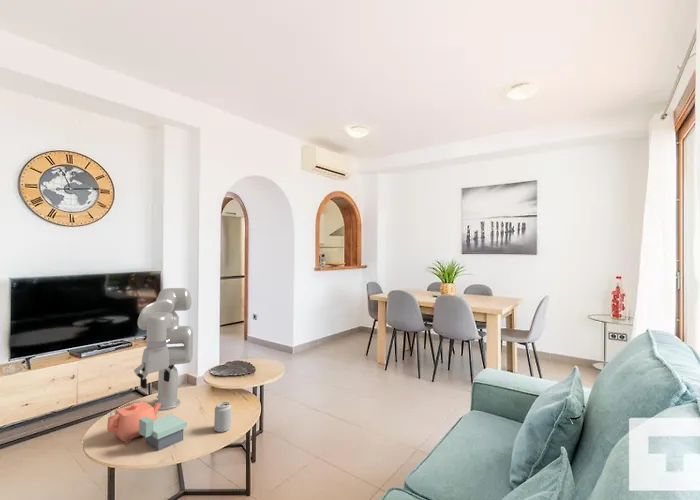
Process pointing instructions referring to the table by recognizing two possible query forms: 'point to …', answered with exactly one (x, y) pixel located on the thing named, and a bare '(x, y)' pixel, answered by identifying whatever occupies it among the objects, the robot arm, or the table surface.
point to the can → (222, 417)
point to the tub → (165, 440)
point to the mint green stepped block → (161, 426)
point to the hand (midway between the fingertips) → (155, 384)
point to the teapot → (130, 420)
